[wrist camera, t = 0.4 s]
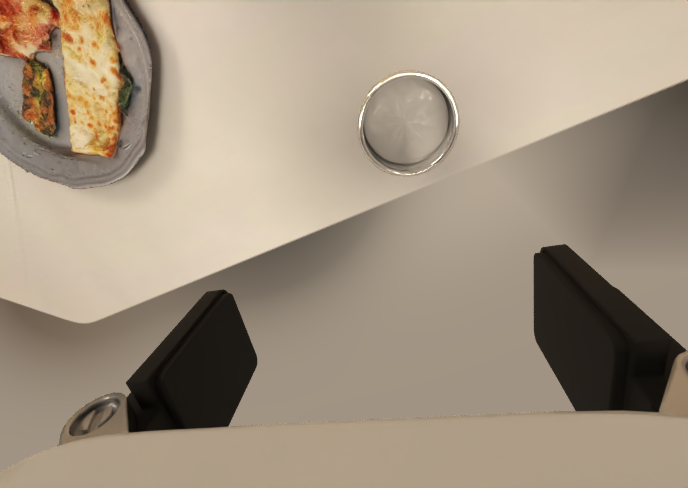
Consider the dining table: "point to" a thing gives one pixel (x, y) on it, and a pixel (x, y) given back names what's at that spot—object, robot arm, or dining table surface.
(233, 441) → the robot arm
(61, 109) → the food plate
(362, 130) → the beer glass
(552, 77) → the dining table surface
